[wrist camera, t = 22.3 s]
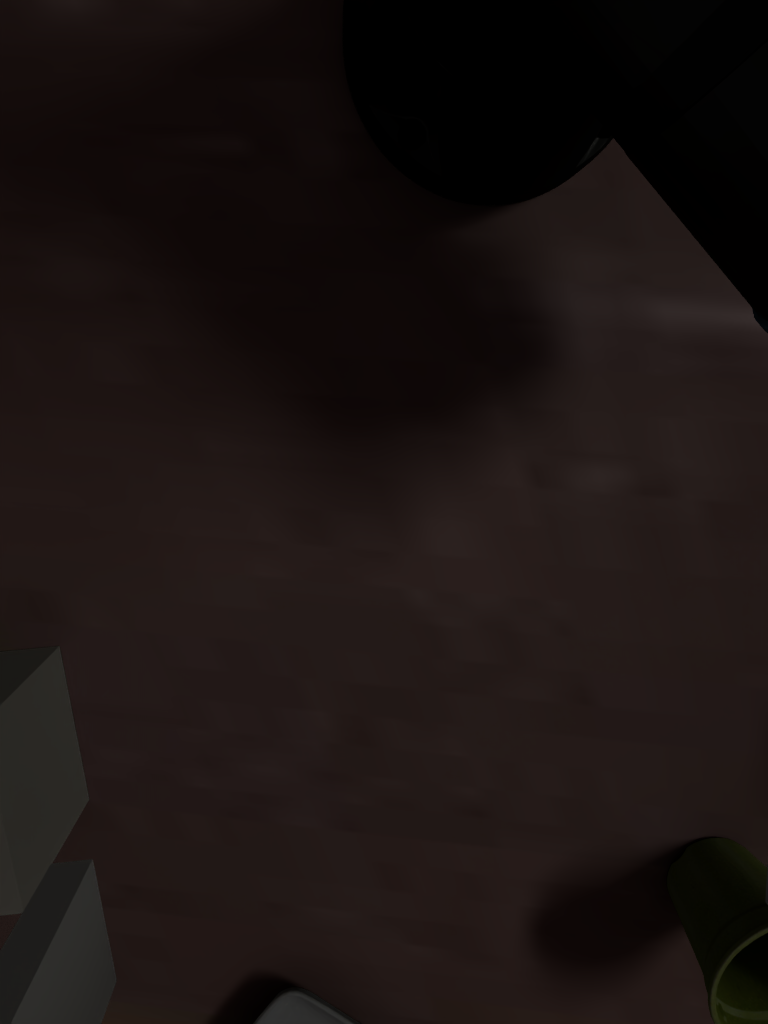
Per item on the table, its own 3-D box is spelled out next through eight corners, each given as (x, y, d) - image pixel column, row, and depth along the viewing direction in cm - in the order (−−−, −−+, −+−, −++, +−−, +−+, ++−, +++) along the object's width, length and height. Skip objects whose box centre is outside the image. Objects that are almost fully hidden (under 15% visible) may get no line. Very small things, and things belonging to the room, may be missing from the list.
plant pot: (778, 916, 47) (876, 1038, 38) (648, 945, 47) (717, 1073, 38) (771, 801, 45) (872, 903, 36) (634, 831, 44) (704, 940, 36)
